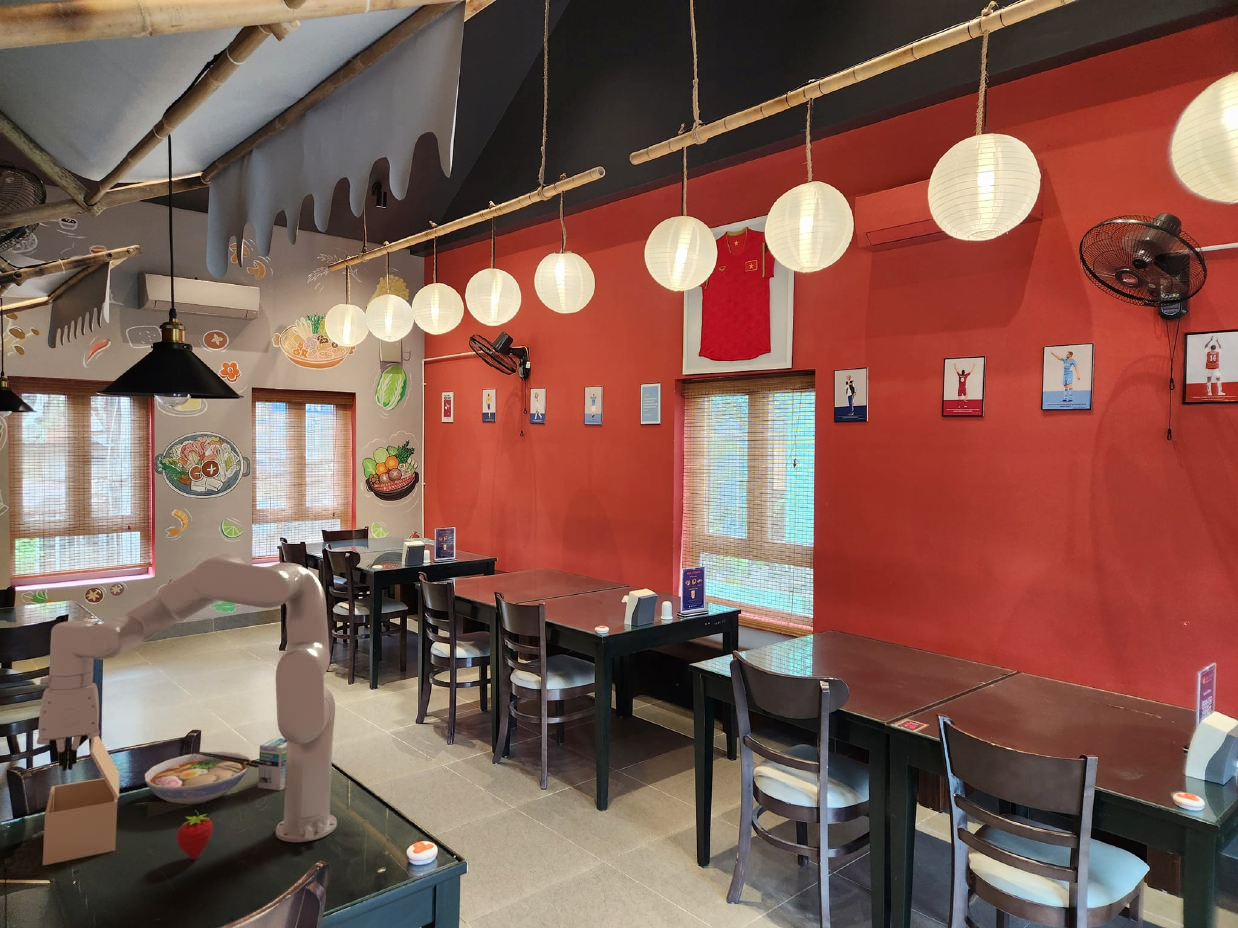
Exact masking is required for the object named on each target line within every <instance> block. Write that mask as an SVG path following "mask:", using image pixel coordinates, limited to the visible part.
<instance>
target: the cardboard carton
mask: <svg viewBox="0 0 1238 928" xmlns="http://www.w3.org/2000/svg"><path fill="white" fill-rule="evenodd" d="M46 805H47V806H46V809H45V813H44V831H43V850H42V851H43V852H42V853H43V854H42V866H47V865H52V864H56V863H61V862H66V861H71V860H77V859H81V858H86V857H91V856H96V855H100V854H105V853H110V852H114V851H116V843H117V819H118V816H117V815H118V799H116V798H115V797H114V795H113V793H112V791H111V790H110V788H109V786H108V784H107V783H106V781H105V779H104V777H101V778H95V779H89V780H83V781H77V782H71V783H66V784H65V783H63V784H59V785H54V786H53V785H52V786H51V788H50V792H49V796H48V800H47V804H46Z"/></svg>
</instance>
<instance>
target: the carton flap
mask: <svg viewBox="0 0 1238 928" xmlns="http://www.w3.org/2000/svg"><path fill="white" fill-rule="evenodd" d="M90 740H91V741H90V748H89V749H90V750H89V755H90V756H91V758H92V760H93V762H94V763H95V765H96V767H97V769H98V770H99V772H100V774H101V776H102V778H104V779H105V781H106V783H107V784H108V786H109V788H110V790H111V791H112V793H113V795H114V797H115V798H116V799H117V800H118V799H120V771H119V770H118V768H117V767H116V765H115V763H114V761H113V759H112V758H111V756H110V754H109V752H108V750H107V748H106V746H105V745H104V743H103V741H102V740H101V738H100V735H99V736H97V737H94V738H91V739H90Z"/></svg>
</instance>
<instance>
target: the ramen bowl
mask: <svg viewBox="0 0 1238 928" xmlns="http://www.w3.org/2000/svg"><path fill="white" fill-rule="evenodd" d="M186 752H188V753H189V754H185V755H182V756H178V757H174V758H171V759H168V760H165V761H163V762H160V763H158V764H156V765H153V766H152V767H151V768H149V770H147V771H146V772H145V773H144V781H145V783H146V785H147V786H148V788H149V789H150V790H151V792H153V793H154V794H155V795H156V796H157V797H159V798H160V799H162V800H164V801H167V802H169V803H175V804H183V805H187V804H194V805H201V804H205V803H207V801H208V802H209V801H212V800H214V799H216V798H219V797H221V796H222V795H225V794H226V793H228V792H230V791H231V790H232V789H234V788H235V787H236V786H237V785H238V784H239V783H240V782H241V780H242V779H243V777H244V776H245V775H246V773H247V772H248V770H249V769H250V767H252V768H258V769H259V765H265V762H262V761H259V760H255V759H250V758H251V757H250V756H249V755H245V754H243V753H240V752H233V751H224V750H223V751H222V750H221V751H203V752H202V751H198V750H192V749H186ZM190 753H191V754H190ZM200 803H201V804H200Z"/></svg>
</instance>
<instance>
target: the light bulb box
mask: <svg viewBox="0 0 1238 928" xmlns="http://www.w3.org/2000/svg"><path fill="white" fill-rule="evenodd" d="M286 749H287V740H286V739H285V738H284V737H283V736H282V735H281V734H280V735H277V736H276V737H274V738H272V739H270V740H268V741H266V742H264V743H262V744H259V754H258V755H259V756H258V757H259V760H258V761H262V762H265V765H259V767H258V780H257V781H258V784H257V786H258V787H257V788H258V789H265V790H266V789H267V790H272V791H273V790H274V791H281V790H282V791H283V789H285V770H286Z"/></svg>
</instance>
